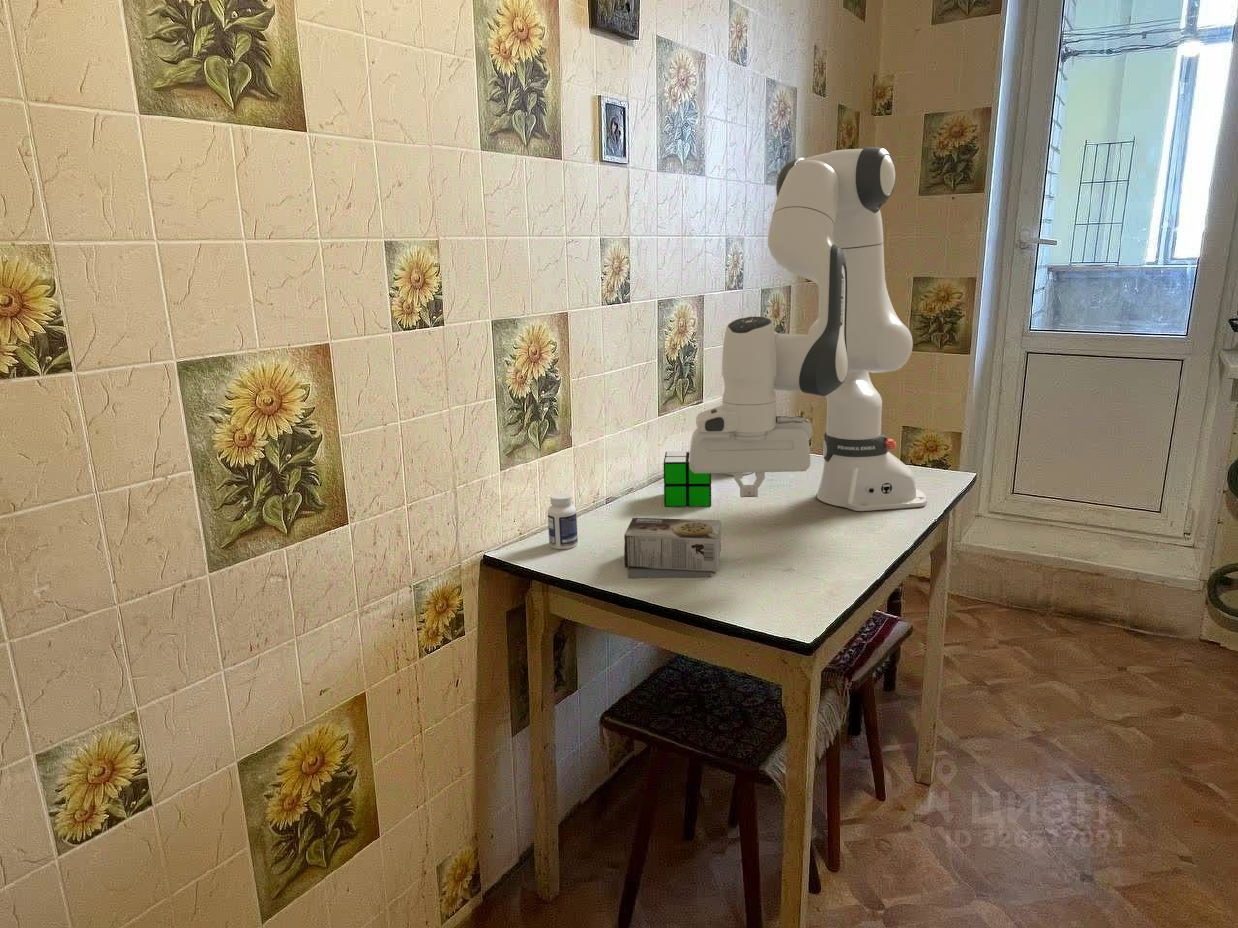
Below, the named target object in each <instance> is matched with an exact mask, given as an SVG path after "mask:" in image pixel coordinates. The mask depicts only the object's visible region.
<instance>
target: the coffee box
mask: <svg viewBox="0 0 1238 928" xmlns="http://www.w3.org/2000/svg"><path fill="white" fill-rule="evenodd" d="M623 549H624V550H623V551H624V552H623V553H624V557H623V558H624V568H628V569H629V568H649V569H672V570H692V571H711V572H714V573H715V572H718V569H719V565H720V560H721V554H722V521H721V519H693V518H690V519H689V518H688V519H687V518H686V519H685V518H660V517H659V518H655V517H654V518H653V517H652V518H651V517H632V519H631V520H630V522H629V524H628V527H627V529H626V531H625V533H624V548H623Z"/></svg>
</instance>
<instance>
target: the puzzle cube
mask: <svg viewBox="0 0 1238 928" xmlns="http://www.w3.org/2000/svg"><path fill="white" fill-rule="evenodd" d="M689 455H690V450H689V451H687V450H681V451H680V450H674V451H673V450H667V451H665V454H664V460H663V496H664V497H663V500H664V501H663V503H664V505H663V506H664V507H665V508H687V507H689V508H710V507H711V506H712V473H698V474H695V473H693V472H692V471H691V469H690V468H689Z"/></svg>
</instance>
